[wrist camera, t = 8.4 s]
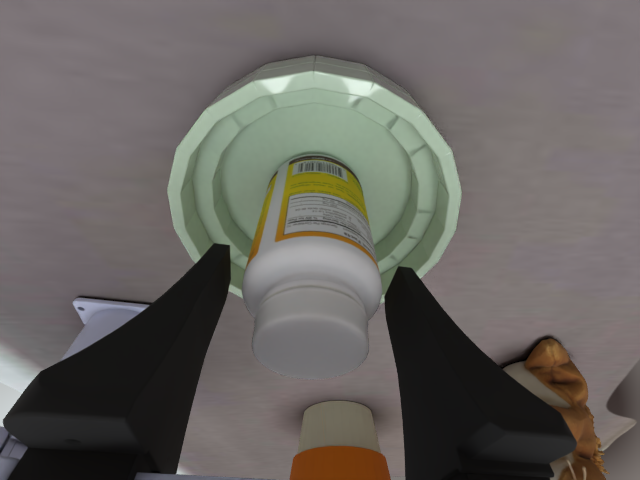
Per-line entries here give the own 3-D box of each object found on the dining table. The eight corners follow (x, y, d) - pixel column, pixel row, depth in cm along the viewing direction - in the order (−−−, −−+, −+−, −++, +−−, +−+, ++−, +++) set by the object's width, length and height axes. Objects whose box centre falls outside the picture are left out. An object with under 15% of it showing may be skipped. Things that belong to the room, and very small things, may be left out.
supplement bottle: (301, 243, 20) (287, 402, 13) (248, 178, 17) (187, 335, 10) (377, 208, 19) (418, 369, 11) (334, 129, 16) (345, 273, 8)
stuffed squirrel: (549, 330, 28) (680, 529, 17) (598, 382, 34) (715, 551, 24) (450, 369, 32) (509, 544, 22) (509, 409, 38) (576, 559, 28)
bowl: (392, 281, 24) (402, 325, 21) (205, 259, 22) (186, 302, 19) (483, 84, 15) (525, 109, 12) (181, 26, 13) (139, 37, 10)
